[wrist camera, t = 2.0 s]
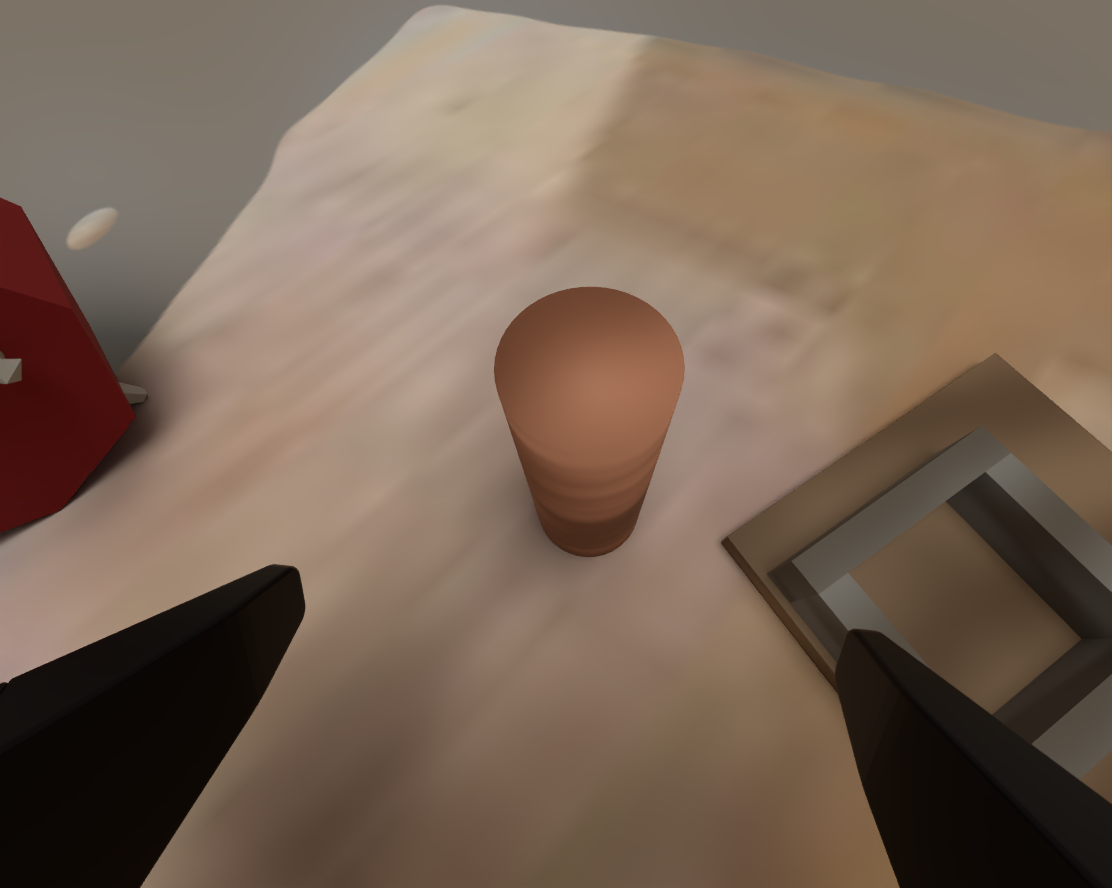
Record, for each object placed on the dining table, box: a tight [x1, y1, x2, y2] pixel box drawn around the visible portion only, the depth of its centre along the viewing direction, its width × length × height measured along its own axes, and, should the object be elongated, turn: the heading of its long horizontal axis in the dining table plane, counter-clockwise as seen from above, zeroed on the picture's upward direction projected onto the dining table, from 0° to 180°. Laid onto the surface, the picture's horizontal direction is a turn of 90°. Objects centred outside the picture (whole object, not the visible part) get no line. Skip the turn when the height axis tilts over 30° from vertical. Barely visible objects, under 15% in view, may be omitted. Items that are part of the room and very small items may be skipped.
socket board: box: [721, 353, 1112, 803], centre depth 17 cm, size 15×14×4 cm
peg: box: [494, 287, 685, 557], centre depth 16 cm, size 4×4×11 cm
